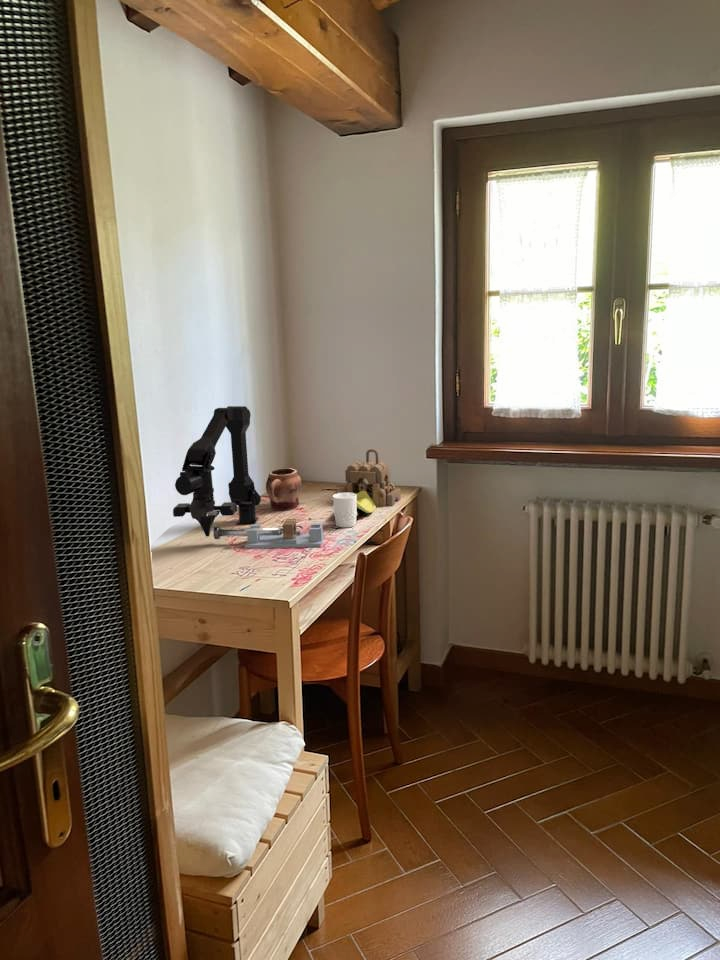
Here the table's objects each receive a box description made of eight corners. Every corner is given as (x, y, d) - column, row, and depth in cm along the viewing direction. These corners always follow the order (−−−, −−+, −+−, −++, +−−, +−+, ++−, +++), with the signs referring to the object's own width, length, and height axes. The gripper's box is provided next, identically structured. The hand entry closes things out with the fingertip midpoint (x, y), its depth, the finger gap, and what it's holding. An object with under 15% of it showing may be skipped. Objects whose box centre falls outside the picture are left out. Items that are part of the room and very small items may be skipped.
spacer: (287, 536, 228) (286, 518, 227) (296, 535, 228) (295, 518, 227) (283, 542, 222) (282, 524, 221) (293, 542, 222) (292, 524, 220)
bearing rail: (252, 538, 231) (250, 523, 230) (324, 536, 229) (323, 521, 228) (245, 548, 221) (243, 532, 220) (320, 546, 220) (319, 530, 219)
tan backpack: (333, 504, 268) (330, 454, 263) (348, 495, 281) (346, 447, 277) (390, 508, 260) (388, 456, 255) (403, 498, 273) (401, 449, 269)
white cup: (335, 529, 237) (333, 499, 235) (333, 522, 245) (331, 493, 243) (359, 527, 238) (357, 497, 236) (356, 520, 246) (355, 491, 243)
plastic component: (343, 500, 264) (367, 488, 262) (352, 518, 264) (376, 506, 262) (331, 510, 245) (357, 498, 242) (341, 530, 245) (367, 517, 243)
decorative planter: (292, 516, 254) (289, 477, 251) (258, 515, 257) (256, 477, 253) (308, 501, 273) (306, 465, 270) (277, 501, 276) (274, 465, 272)
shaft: (217, 537, 229) (216, 524, 228) (284, 535, 227) (283, 523, 226) (214, 540, 225) (213, 528, 224) (282, 539, 223) (281, 526, 222)
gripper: (164, 494, 216) (170, 544, 220) (226, 493, 215) (231, 543, 218) (176, 485, 227) (181, 533, 230) (235, 484, 225) (239, 532, 229)
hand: (207, 536), depth 227 cm, fingers closed
